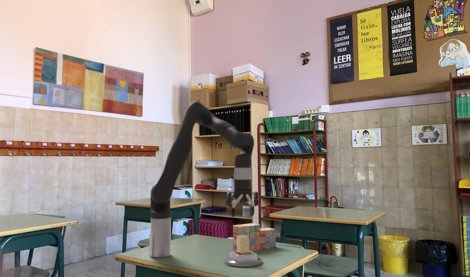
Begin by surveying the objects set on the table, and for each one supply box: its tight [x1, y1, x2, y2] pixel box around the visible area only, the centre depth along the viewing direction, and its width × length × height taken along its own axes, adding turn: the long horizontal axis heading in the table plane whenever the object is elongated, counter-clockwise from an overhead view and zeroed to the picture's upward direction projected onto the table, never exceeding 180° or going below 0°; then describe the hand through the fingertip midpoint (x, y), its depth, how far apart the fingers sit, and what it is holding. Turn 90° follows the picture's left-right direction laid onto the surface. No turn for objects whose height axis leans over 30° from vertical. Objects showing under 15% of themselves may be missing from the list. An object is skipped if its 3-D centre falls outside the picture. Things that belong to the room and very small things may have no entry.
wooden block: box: [237, 235, 249, 255], centre depth 158 cm, size 4×4×10 cm
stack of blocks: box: [232, 222, 277, 252], centre depth 184 cm, size 21×6×12 cm, turn 119°
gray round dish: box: [223, 250, 263, 268], centre depth 158 cm, size 16×16×4 cm
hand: (242, 216), depth 159 cm, fingers open, 8 cm apart
